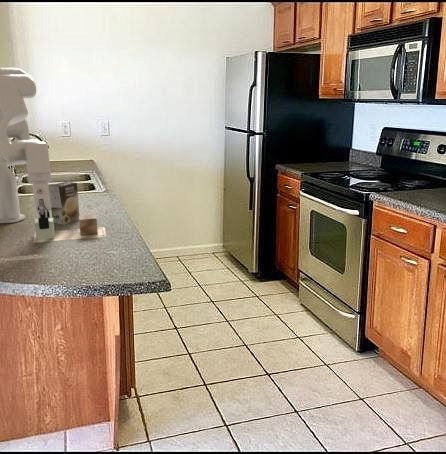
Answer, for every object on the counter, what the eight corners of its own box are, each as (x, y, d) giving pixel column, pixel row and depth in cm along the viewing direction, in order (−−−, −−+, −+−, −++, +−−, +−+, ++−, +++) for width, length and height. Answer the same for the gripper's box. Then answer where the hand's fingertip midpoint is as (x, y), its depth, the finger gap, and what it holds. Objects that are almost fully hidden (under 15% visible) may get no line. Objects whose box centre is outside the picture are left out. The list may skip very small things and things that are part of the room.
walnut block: (80, 235, 179) (79, 219, 178) (80, 231, 185) (78, 215, 183) (97, 234, 181) (96, 218, 179) (96, 230, 186) (95, 214, 185)
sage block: (36, 239, 175) (34, 223, 173) (37, 234, 181) (35, 218, 179) (54, 238, 177) (52, 221, 175) (54, 233, 182) (53, 217, 181)
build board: (32, 245, 172) (32, 242, 172) (35, 235, 184) (34, 232, 184) (107, 239, 179) (106, 235, 178) (104, 229, 191) (104, 226, 190)
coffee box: (64, 227, 194) (60, 186, 190) (52, 225, 197) (48, 185, 193) (80, 221, 202) (77, 182, 198) (68, 219, 205) (65, 181, 201)
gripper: (50, 180, 166) (55, 230, 170) (51, 173, 182) (56, 219, 186) (26, 182, 164) (32, 232, 168) (30, 174, 180) (35, 220, 184)
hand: (45, 225), depth 177 cm, fingers open, 9 cm apart
